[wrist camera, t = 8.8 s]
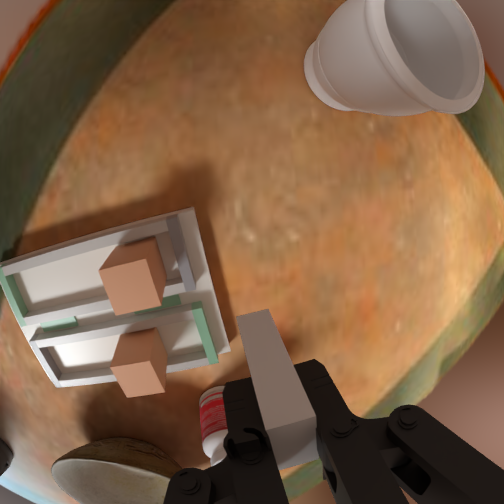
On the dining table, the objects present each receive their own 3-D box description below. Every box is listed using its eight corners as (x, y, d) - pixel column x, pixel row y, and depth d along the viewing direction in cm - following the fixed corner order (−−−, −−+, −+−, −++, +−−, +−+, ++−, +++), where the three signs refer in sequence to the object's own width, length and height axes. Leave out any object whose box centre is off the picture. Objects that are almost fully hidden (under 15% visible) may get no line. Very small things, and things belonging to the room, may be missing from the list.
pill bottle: (189, 400, 36) (192, 468, 26) (223, 376, 36) (235, 446, 26) (221, 420, 39) (231, 484, 28) (254, 399, 38) (273, 464, 28)
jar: (389, 118, 29) (496, 116, 15) (303, 125, 28) (393, 113, 14) (370, 30, 25) (463, -12, 11) (283, 28, 24) (349, -46, 10)
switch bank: (54, 373, 32) (47, 388, 29) (0, 262, 26) (-13, 272, 24) (229, 343, 34) (232, 359, 32) (193, 206, 29) (193, 212, 26)
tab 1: (128, 284, 28) (115, 315, 23) (115, 246, 27) (98, 270, 21) (166, 275, 29) (161, 305, 23) (155, 236, 27) (145, 258, 22)
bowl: (53, 454, 37) (42, 496, 28) (80, 384, 33) (61, 440, 24) (167, 495, 45) (169, 535, 36) (229, 441, 41) (239, 494, 31)
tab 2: (134, 360, 31) (127, 397, 26) (121, 331, 30) (109, 367, 24) (167, 354, 32) (165, 392, 26) (155, 325, 30) (149, 360, 25)
